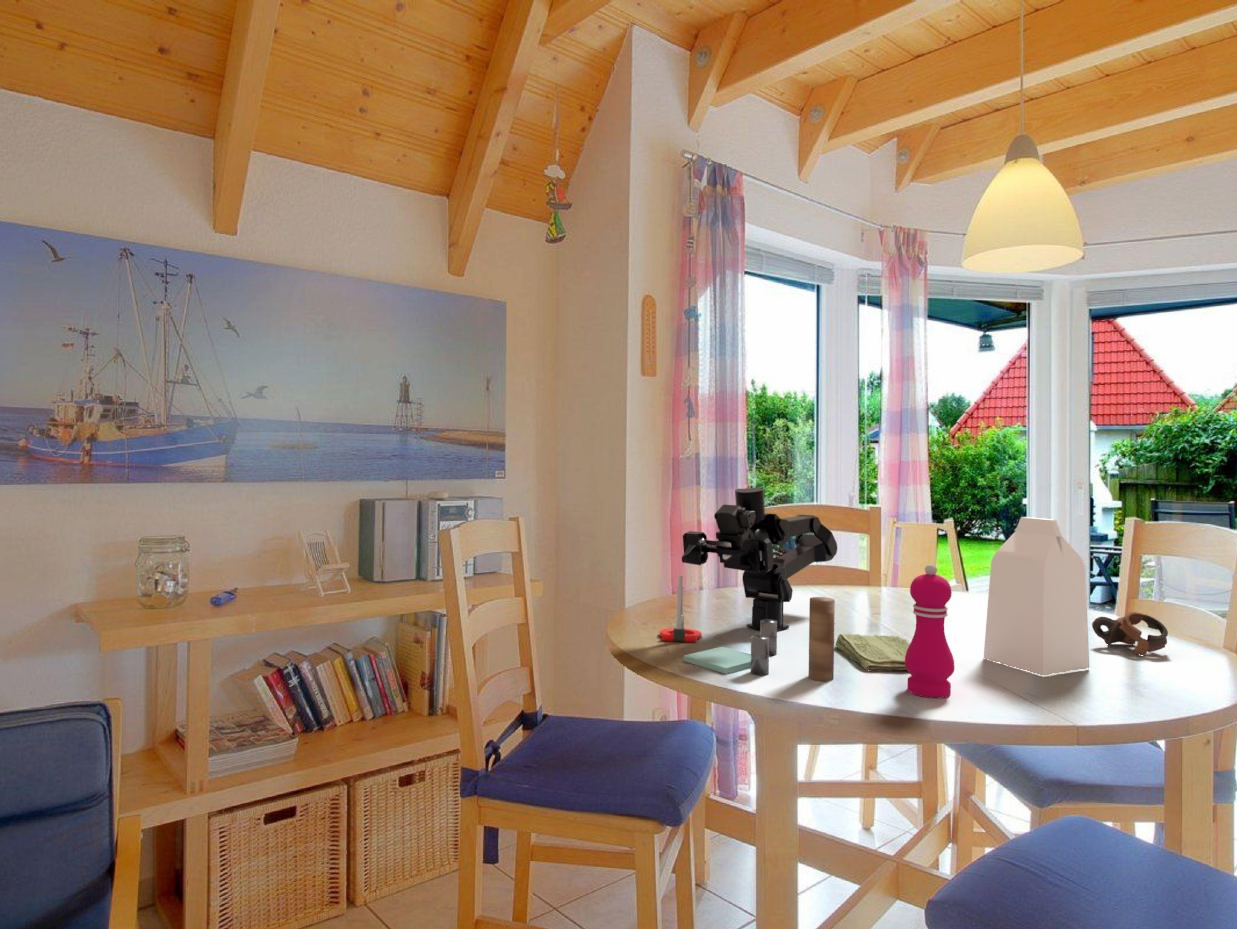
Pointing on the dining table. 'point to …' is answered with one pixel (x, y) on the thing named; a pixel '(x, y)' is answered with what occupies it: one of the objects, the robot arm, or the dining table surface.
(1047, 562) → the milk
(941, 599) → the pepper mill
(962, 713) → the dining table surface
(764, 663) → the post near pad
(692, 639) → the tow hook
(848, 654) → the washcloth
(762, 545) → the robot arm
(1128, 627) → the brown ring bracket
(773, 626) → the post farther from pad
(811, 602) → the walnut dowel
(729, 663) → the teal pad
